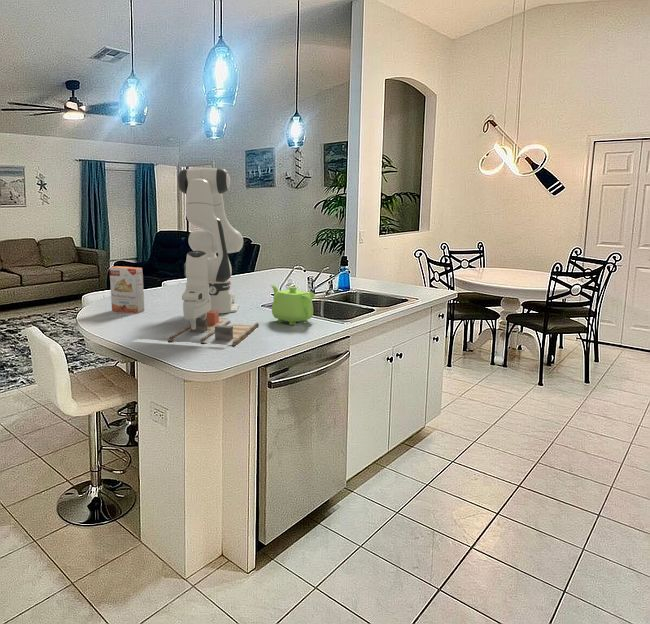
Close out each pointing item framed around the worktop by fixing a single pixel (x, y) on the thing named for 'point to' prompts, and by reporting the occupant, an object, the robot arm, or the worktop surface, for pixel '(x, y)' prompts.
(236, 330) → the strip
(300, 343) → the worktop surface
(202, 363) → the worktop surface
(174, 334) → the lane rails
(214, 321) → the cube
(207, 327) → the strip
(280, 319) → the teapot
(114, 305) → the cracker box
